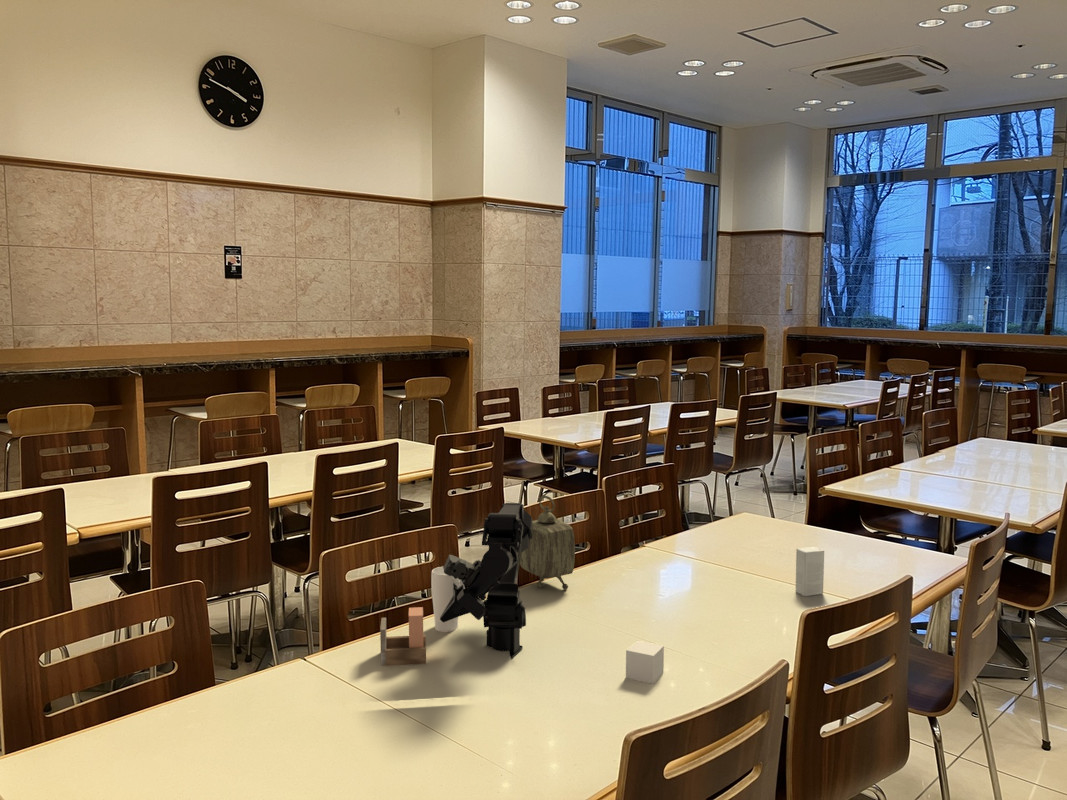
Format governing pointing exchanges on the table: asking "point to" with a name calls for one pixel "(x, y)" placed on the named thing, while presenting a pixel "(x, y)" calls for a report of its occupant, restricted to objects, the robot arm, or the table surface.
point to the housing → (400, 649)
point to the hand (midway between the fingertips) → (441, 620)
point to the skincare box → (809, 571)
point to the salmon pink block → (416, 627)
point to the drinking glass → (442, 598)
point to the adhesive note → (644, 661)
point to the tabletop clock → (549, 548)
